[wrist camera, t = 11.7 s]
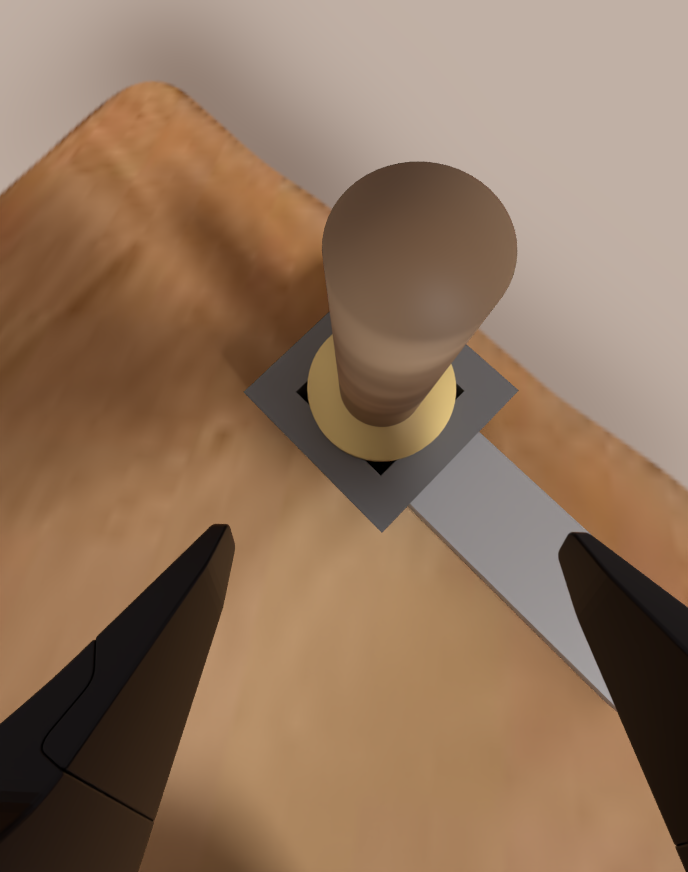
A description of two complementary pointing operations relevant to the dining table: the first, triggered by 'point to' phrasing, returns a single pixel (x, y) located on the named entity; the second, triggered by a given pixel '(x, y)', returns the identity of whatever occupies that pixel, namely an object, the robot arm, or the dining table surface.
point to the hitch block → (452, 493)
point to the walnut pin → (404, 303)
